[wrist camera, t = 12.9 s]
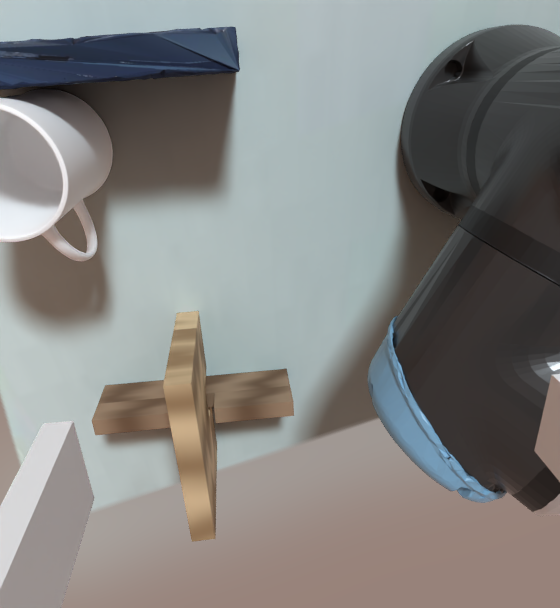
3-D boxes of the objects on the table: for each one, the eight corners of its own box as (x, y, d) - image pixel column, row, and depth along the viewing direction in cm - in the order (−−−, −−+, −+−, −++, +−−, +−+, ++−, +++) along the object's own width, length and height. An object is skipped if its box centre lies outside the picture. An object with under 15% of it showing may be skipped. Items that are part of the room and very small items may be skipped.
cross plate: (216, 444, 53) (215, 538, 43) (198, 446, 53) (191, 541, 42) (198, 311, 47) (190, 383, 36) (177, 313, 46) (162, 386, 36)
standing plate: (286, 368, 50) (293, 401, 45) (287, 382, 51) (293, 415, 46) (105, 385, 49) (91, 420, 44) (108, 398, 50) (95, 435, 45)
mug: (148, 215, 42) (123, 265, 32) (57, 250, 43) (0, 310, 32) (80, 71, 37) (22, 71, 26) (-23, 112, 38) (-122, 128, 27)
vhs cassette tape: (-7, 88, 37) (-80, 94, 28) (-19, 44, 36) (-99, 35, 27) (237, 78, 39) (242, 80, 30) (234, 35, 37) (238, 23, 28)
